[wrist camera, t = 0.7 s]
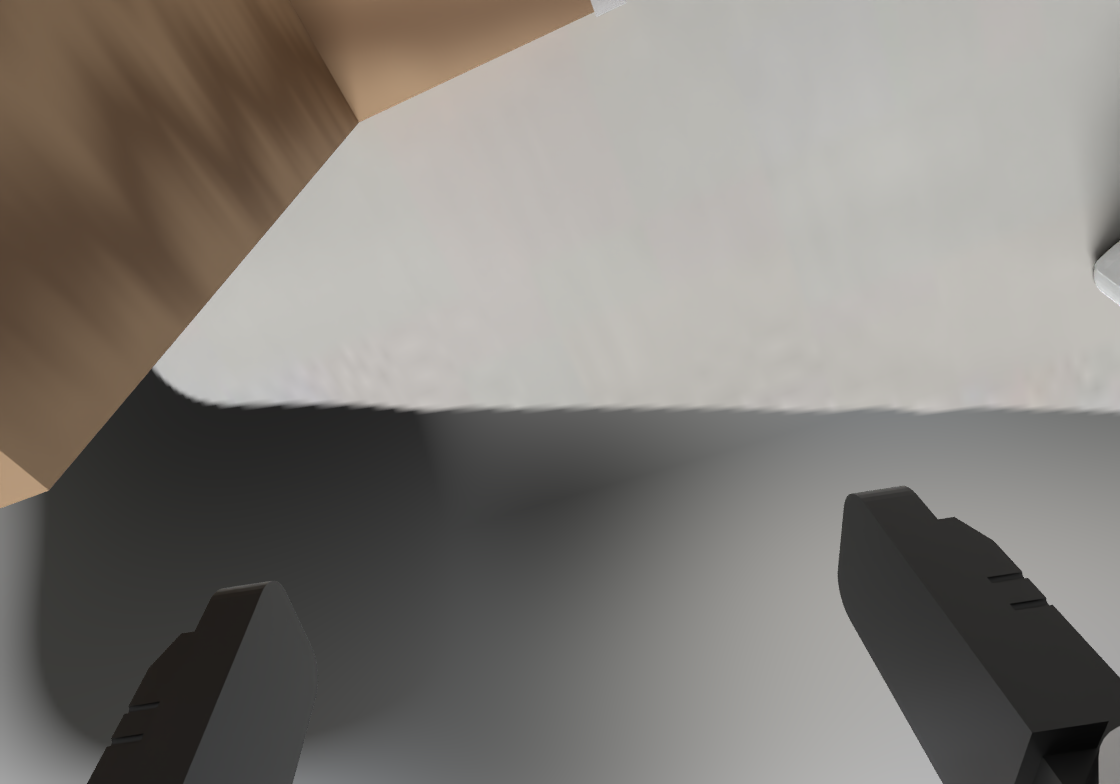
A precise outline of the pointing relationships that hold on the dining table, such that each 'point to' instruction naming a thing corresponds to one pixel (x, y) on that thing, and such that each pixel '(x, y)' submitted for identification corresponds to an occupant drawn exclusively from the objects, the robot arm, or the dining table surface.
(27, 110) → the shelf
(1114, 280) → the photo printer
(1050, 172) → the dining table surface
